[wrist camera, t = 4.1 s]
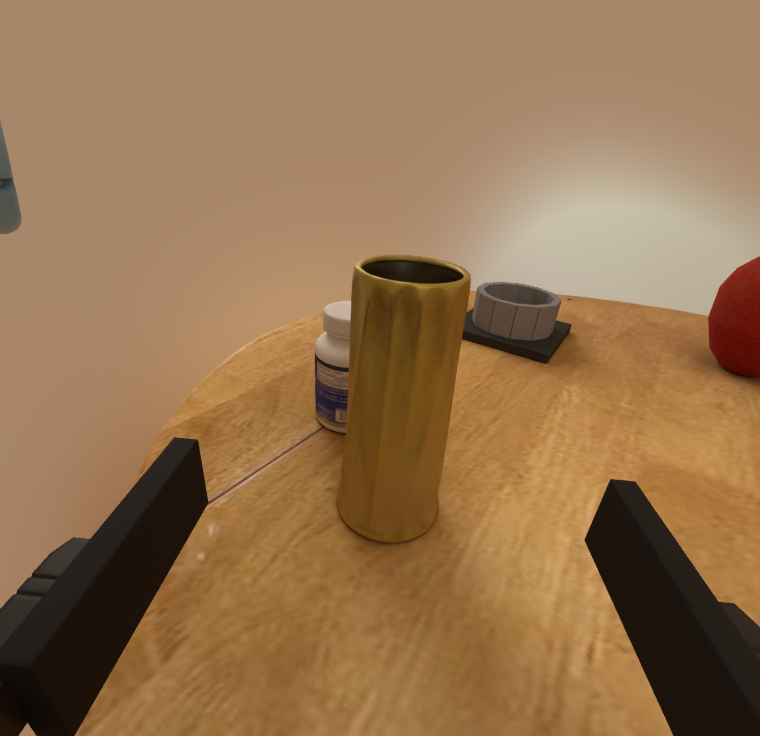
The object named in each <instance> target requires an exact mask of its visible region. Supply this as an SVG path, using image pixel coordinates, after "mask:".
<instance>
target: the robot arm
mask: <svg viewBox="0 0 760 736" xmlns="http://www.w3.org/2000/svg"><path fill="white" fill-rule="evenodd" d="M20 224H21V213H20V208H19V203H18V198H17V194H16V189H15V185H14V182H13V176H12V171H11V166H10V161H9V156H8V152H7V148H6V143H5V139H4V135H3V131H2V126H1V123H0V234H8V233H11V232H14V231H15V230H17V229H18V228H19V226H20ZM207 504H208V497H207V491H206V485H205V479H204V473H203V467H202V461H201V455H200V449H199V443H198V440H196V439H185V438H175V437H174V439H173V440H172V441H171V442H170V443H169V445H168V446H167V447H166V448H165V449H164V451H163V452H162V453H161V454H160V455H159V457H158V458H157V459H156V460H155V461H154V463H153V464H152V465H151V466H150V468H149V469H148V470H147V471H146V472H145V474H144V475H143V476H142V477H141V478H140V480H139V481H138V482H137V483H136V484H135V486H134V487H133V488H132V489H131V490H130V492H129V493H128V494H127V495H126V497H125V498H124V499H123V500H122V501H121V503H120V504H119V505H118V506H117V507H116V509H115V510H114V511H113V512H112V513H111V515H110V516H109V517H108V519H106V521H105V522H104V523H103V524H102V526H101V527H100V528H99V529H98V530H97V532H96V533H95V534H94V535H93V536H92V538H91V539H84V538H75V537H73V538H72V539H71V540H69V541H67V542H66V543H64V544H63V545H62V546H60V547H59V548H57V549H56V550H55V551H53V552H52V553H50V554H49V555H48V557H47V558H46V559H45V560H44V561H43V562H42V563H41V564H40V565H39V567H38V568H37V569H36V570H35V571H34V572H33V573H32V576H31V578H28V579H27V580H26V581H25V582H24V583H23V584H22V586H21V587H20V588H19V589H18V590H17V593H16V594H15V595H13V596H12V597H11V598H10V599H9V600H8V601H7V602H6V603H5V604H4V606H3V607H2V608H1V609H0V736H19V734H20V733H21V731H22V730H23V728H24V727H25V725H26V724H27V722H28V724H29V725H30V727H31V728H32V730H33V731H34V733H35V734H36V736H75V734H76V732H77V730H78V729H79V727H80V725H81V723H82V722H83V720H84V718H85V716H86V715H87V713H88V711H89V710H90V708H91V706H92V704H93V703H94V701H95V699H96V697H97V696H98V694H99V692H100V690H101V689H102V687H103V685H104V683H105V682H106V680H107V678H108V676H109V675H110V673H111V671H112V670H113V668H114V666H115V664H116V663H117V661H118V659H119V657H120V656H121V654H122V652H123V650H124V649H125V647H126V645H127V643H128V642H129V640H130V638H131V636H132V635H133V633H134V631H135V630H136V628H137V626H138V624H139V623H140V621H141V619H142V617H143V616H144V614H145V612H146V610H147V609H148V607H149V605H150V603H151V602H152V600H153V598H154V596H155V595H156V593H157V591H158V590H159V588H160V586H161V584H162V583H163V581H164V579H165V577H166V576H167V574H168V572H169V570H170V569H171V567H172V565H173V563H174V562H175V560H176V558H177V556H178V555H179V553H180V551H181V550H182V548H183V546H184V544H185V543H186V541H187V539H188V537H189V536H190V534H191V532H192V530H193V529H194V527H195V525H196V523H197V522H198V520H199V518H200V516H201V515H202V513H203V511H204V510H205V508H206V506H207ZM585 542H586V545H587V547H588V549H589V551H590V553H591V556H592V558H593V560H594V562H595V564H596V567H597V569H598V571H599V573H600V575H601V578H602V580H603V582H604V584H605V586H606V589H607V591H608V593H609V595H610V597H611V600H612V602H613V604H614V606H615V608H616V611H617V613H618V615H619V617H620V619H621V622H622V624H623V626H624V628H625V630H626V633H627V635H628V637H629V639H630V641H631V644H632V646H633V648H634V650H635V652H636V655H637V657H638V659H639V661H640V663H641V666H642V668H643V670H644V672H645V674H646V677H647V679H648V681H649V683H650V685H651V687H652V690H653V692H654V694H655V696H656V698H657V701H658V703H659V705H660V707H661V709H662V712H663V714H664V716H665V718H666V720H667V723H668V725H669V727H670V729H671V731H672V734H673V736H760V627H759V626H758V625H757V624H756V623H755V622H754V621H753V620H752V619H751V618H750V617H748V616H747V615H746V614H745V613H744V612H743V611H742V610H741V609H740V608H739V607H737V606H736V605H735V604H734V603H725V602H718V600H717V599H716V597H715V596H714V595H713V593H712V592H711V590H710V589H709V587H708V586H707V584H706V583H705V582H704V580H703V579H702V577H701V576H700V574H699V573H698V571H697V570H696V569H695V567H694V566H693V564H692V563H691V561H690V560H689V558H688V557H687V556H686V554H685V553H684V551H683V550H682V548H681V547H680V545H679V544H678V543H677V541H676V540H675V538H674V537H673V535H672V534H671V532H670V531H669V530H668V528H667V527H666V525H665V524H664V522H663V521H662V519H661V518H660V517H659V515H658V514H657V512H656V511H655V509H654V508H653V506H652V505H651V504H650V502H649V501H648V499H647V498H646V496H645V495H644V493H643V492H642V491H641V489H640V488H639V486H638V485H637V483H636V482H635V481H625V480H614V479H610V482H609V484H608V486H607V489H606V491H605V493H604V496H603V498H602V500H601V503H600V505H599V507H598V510H597V512H596V514H595V517H594V519H593V521H592V524H591V526H590V528H589V530H588V533H587V535H586V537H585Z"/></svg>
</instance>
